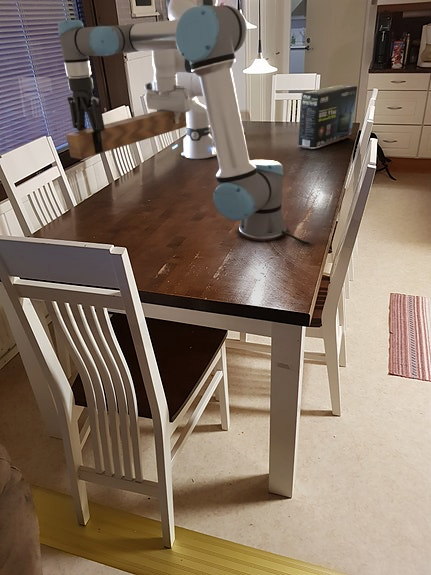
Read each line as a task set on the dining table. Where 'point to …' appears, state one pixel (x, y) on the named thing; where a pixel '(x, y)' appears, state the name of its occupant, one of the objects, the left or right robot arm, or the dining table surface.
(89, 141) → the bar
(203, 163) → the dining table surface
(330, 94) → the router box
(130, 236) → the dining table surface
